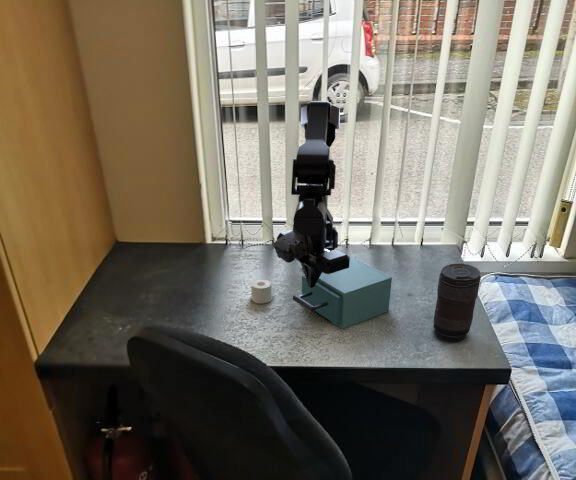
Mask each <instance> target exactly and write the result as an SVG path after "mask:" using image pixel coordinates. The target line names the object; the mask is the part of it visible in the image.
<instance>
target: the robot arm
mask: <svg viewBox="0 0 576 480" xmlns="http://www.w3.org/2000/svg"><path fill="white" fill-rule="evenodd" d="M340 109H341V108H340V107H339V106H336V105H333V104H332V102H329V101H328V100H310V101H308V102H307V104H306V105H303V106H302V107H301V111H300V112H301V117H300V126H301V129H303V130H304V139H305V140H304V143H303V144H301V145H300V146H298V147H297V151H296V157H293V159H292V171H291V172H292V173H291V189H290V191H291V192H290V195H292V196H297V197H298V199H297V201H298V203H297V204H296V208H295V212H294V216H293V221H292V222H293V223H292V229H290V230H289V229H288V230H286V231H285V230H284V231H281V232H279V234H278V235H277V237H276V240H275V241H273V244H272V245H273V248H274V250H275V253H276V256H277V258H279V259H281V260H282V261H284V262H285V263H287V264H288V263H289V264H290V263H292V262H294V261H295V260H296V261H297V262H298V263H299V264H300V266H301V270H302V271H303V275H305V277H306V280H307V283H308V286H309V287H310V288H313V287H315V285H316V283H317V281H318V279H319V277H320V276H321V274H322V272H323V273H325V274H331V273H334V272H337V271H340V270H344V269H347V268H349V266H350V257H349V256H350V255H348V254H347V253H345V252H343V251H341V250H339V249H338V248H339V247H338V245H339V232H338V231H337V229H336V226H334V217H333V214H332V213H331V211H330V210H329V208H328V203H329V202H328V201H329V199H328V198H329V196H332V190H335V189H336V188H335V187H336V171H337V169H336V168H337V165H336V164H335V160H334V159H333V158H331V147H332V145H333V143H334V142H335V141H336V136H337V130H340V124H341V123H340V122H341V121H340V120H341V119H340V118H341V110H340Z"/></svg>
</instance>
